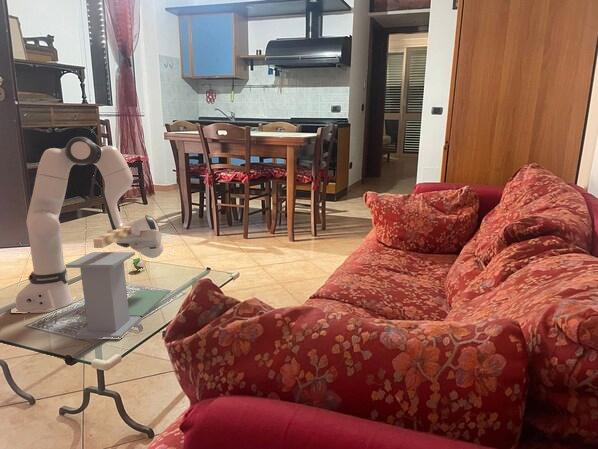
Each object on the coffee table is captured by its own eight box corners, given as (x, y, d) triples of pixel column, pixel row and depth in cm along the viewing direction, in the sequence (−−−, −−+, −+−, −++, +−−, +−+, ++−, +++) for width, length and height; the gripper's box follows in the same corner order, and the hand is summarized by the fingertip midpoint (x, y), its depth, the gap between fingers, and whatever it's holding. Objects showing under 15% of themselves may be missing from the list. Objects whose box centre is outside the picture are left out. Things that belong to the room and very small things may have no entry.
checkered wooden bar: (124, 233, 172) (124, 225, 171) (132, 233, 171) (131, 225, 171) (94, 247, 150) (93, 239, 150) (102, 247, 150) (101, 239, 149)
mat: (139, 291, 196) (139, 290, 196) (170, 291, 195) (170, 290, 194) (107, 316, 169) (106, 315, 168) (142, 317, 167) (142, 315, 167)
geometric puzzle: (126, 267, 226) (131, 256, 222) (136, 263, 231) (142, 253, 228) (134, 277, 224) (140, 265, 220) (145, 273, 230) (151, 262, 226)
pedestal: (100, 319, 166) (92, 252, 161) (141, 320, 164) (134, 252, 159) (75, 339, 150) (65, 264, 145) (120, 339, 149) (112, 264, 144)
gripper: (117, 233, 184) (100, 222, 170) (165, 232, 182) (151, 221, 169) (115, 248, 182) (97, 238, 168) (163, 247, 180) (149, 237, 167)
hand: (124, 230), depth 168 cm, fingers closed on checkered wooden bar, 3 cm apart
